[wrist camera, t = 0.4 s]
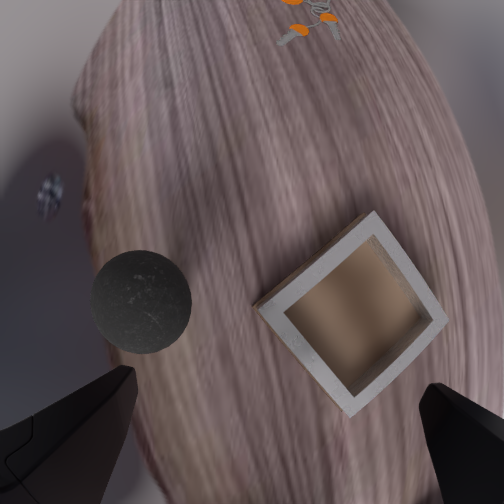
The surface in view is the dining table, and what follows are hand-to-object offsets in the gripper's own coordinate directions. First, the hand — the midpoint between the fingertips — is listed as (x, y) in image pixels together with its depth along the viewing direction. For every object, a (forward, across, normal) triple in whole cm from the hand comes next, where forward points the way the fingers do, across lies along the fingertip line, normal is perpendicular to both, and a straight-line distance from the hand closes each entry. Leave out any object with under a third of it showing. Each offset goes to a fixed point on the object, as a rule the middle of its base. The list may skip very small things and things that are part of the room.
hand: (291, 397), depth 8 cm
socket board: (+14, -7, +4) cm, 17 cm away
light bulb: (+15, +7, +4) cm, 17 cm away
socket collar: (+14, -7, +4) cm, 16 cm away
